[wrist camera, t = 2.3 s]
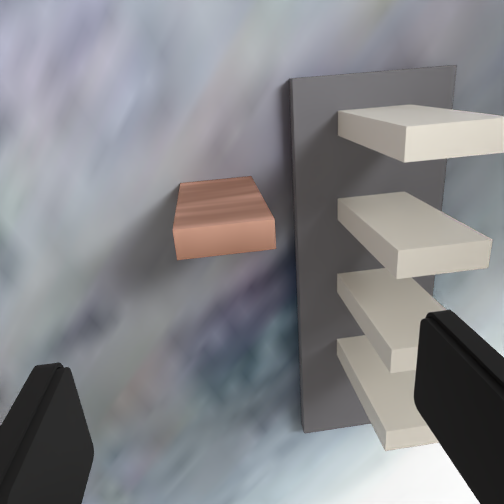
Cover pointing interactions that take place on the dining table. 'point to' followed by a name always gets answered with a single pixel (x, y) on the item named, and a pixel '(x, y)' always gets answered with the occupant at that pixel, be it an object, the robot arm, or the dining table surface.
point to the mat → (332, 231)
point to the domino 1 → (222, 219)
